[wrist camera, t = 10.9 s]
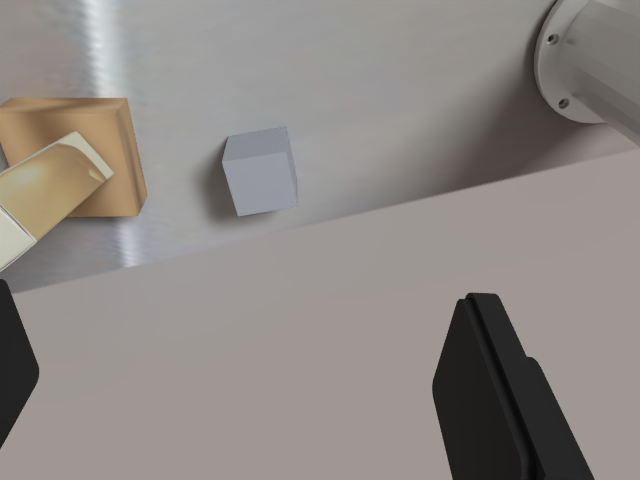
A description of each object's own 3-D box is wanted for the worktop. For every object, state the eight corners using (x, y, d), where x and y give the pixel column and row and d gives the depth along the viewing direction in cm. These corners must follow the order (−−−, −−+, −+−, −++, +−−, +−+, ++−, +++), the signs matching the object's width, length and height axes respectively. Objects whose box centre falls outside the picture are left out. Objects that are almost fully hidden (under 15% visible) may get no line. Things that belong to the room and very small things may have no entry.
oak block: (128, 95, 40) (114, 113, 37) (148, 192, 45) (137, 216, 42) (14, 95, 40) (-11, 114, 37) (47, 193, 45) (28, 217, 42)
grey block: (286, 125, 42) (285, 151, 38) (297, 177, 45) (297, 206, 41) (228, 135, 42) (221, 162, 38) (242, 186, 45) (238, 216, 41)
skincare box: (63, 213, 41) (-33, 297, 30) (21, 171, 39) (-97, 244, 28) (119, 171, 39) (38, 244, 28) (78, 126, 37) (-25, 185, 27)
